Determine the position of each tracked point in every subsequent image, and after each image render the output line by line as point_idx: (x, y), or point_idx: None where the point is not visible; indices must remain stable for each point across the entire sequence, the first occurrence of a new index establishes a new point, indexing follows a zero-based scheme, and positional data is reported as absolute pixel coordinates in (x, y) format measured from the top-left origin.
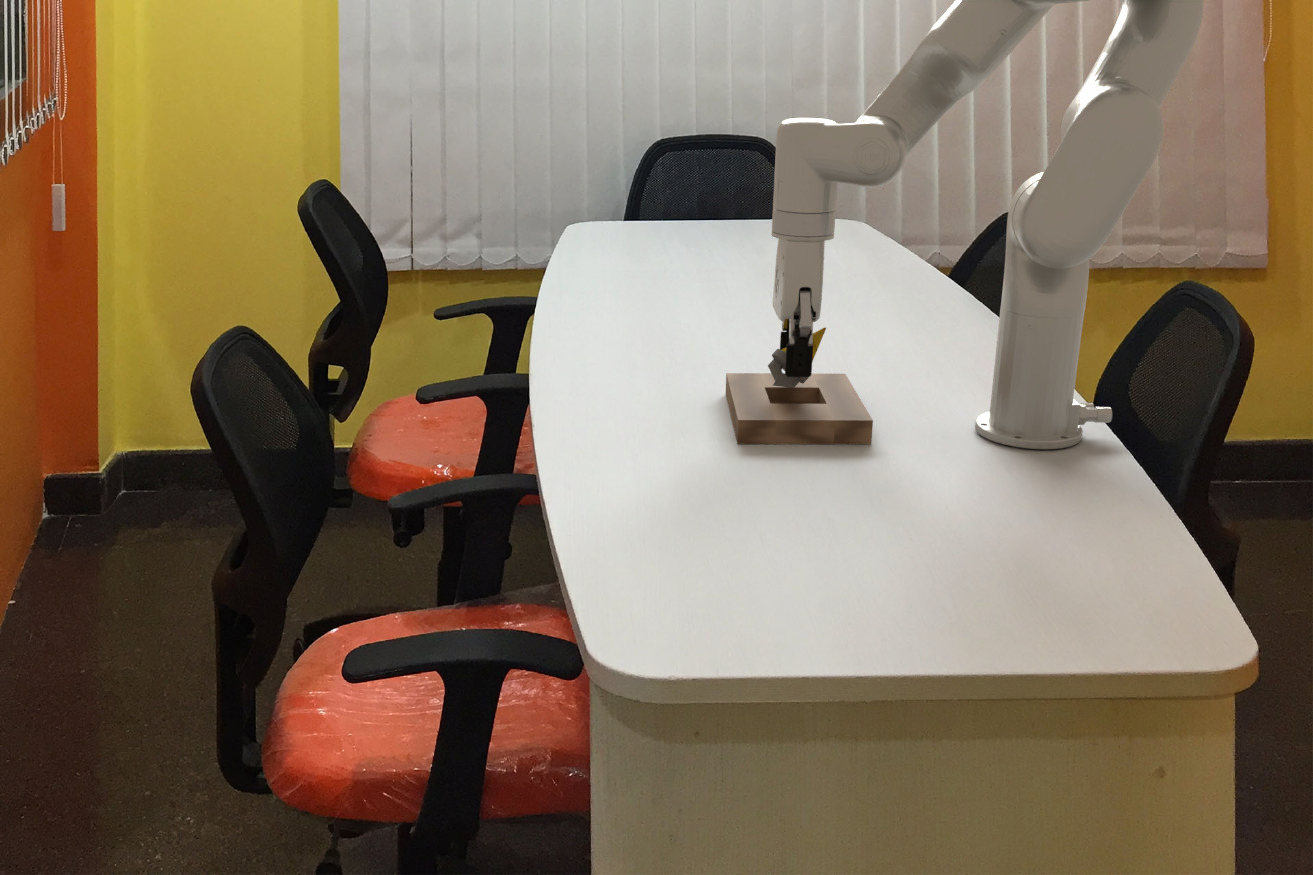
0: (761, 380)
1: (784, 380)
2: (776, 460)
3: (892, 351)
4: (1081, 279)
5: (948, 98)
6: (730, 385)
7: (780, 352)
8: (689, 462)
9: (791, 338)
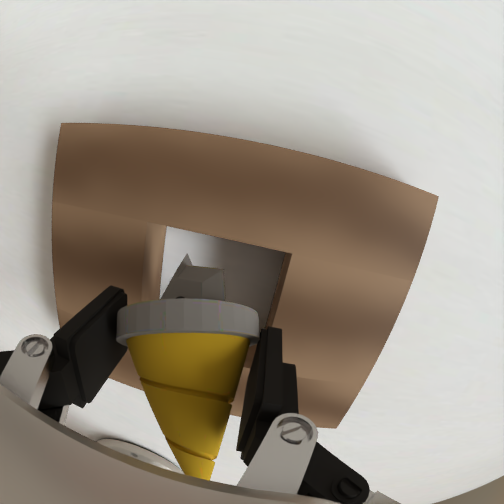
0: (354, 265)
1: (167, 288)
2: (31, 179)
3: (451, 455)
4: None
5: None
6: (331, 163)
7: (144, 321)
8: (50, 53)
9: (16, 351)
